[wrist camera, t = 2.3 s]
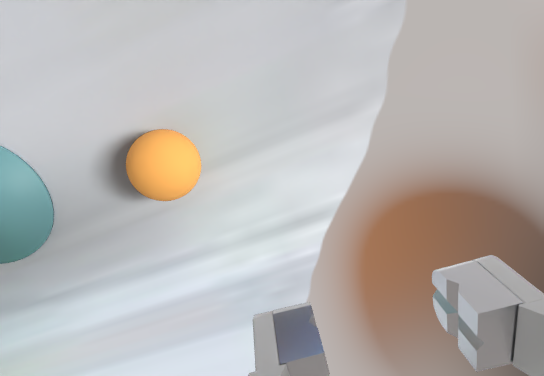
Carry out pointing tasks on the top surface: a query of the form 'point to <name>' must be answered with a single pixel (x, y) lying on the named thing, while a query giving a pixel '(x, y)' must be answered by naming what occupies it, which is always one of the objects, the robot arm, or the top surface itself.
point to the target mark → (22, 209)
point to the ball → (163, 165)
